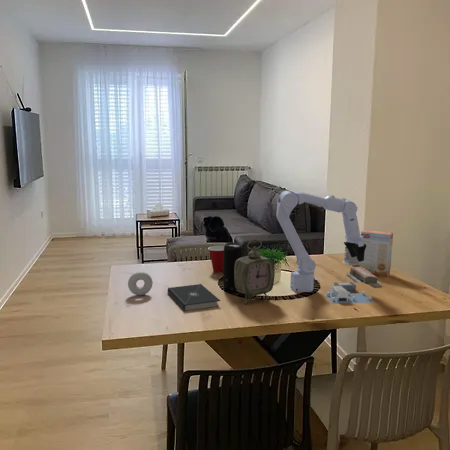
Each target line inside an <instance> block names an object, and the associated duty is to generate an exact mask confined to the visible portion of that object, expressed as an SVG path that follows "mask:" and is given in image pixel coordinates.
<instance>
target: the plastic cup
mask: <svg viewBox="0 0 450 450" xmlns="http://www.w3.org/2000/svg"><path fill="white" fill-rule="evenodd" d="M224 246H225V245H214V246H209V247H208V248H207V250H208V251H209V255H210V260H211V261H210V262H211V265H212V271H213V272H215V273H223V254H224Z"/></svg>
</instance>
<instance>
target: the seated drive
mask: <svg viewBox="0 0 450 450" xmlns="http://www.w3.org/2000/svg"><path fill="white" fill-rule="evenodd" d="M349 292H350V291H347V290H346V289H344V288H343V287H342V286H334V285H330V296H331V297H335V301H336V302H348V294H349Z"/></svg>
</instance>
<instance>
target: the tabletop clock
mask: <svg viewBox="0 0 450 450" xmlns="http://www.w3.org/2000/svg"><path fill="white" fill-rule="evenodd" d="M253 242H259V243H260V244H259V246H258V247H257V246H255V245H254V246H253V248H251V247H249V245H250V244H251V243H253ZM262 245H263V243H262V241H261V240H260V239H257V238H256V239H255V238H254V239H251V240H250V241H248V243H247V245H246V246H247V249H248V250H250V251H249V252H248V254H247V255H246V256H243V257H241V258H239V259H237V260H236V262H235V268H234V282H235V287H236V290H238V292H240V293H242V294H244V295H245V296H244V300H243V304H245V305H246V304H248V300H247V299H252V296H260V295H264V299H265V300H269V299H270V296H269V295H267V293H270V292H271V291H272V290H273V287H274V285H275V284H274V283H275V263H274V259H271V258H268V257H265V256H262V255H261V252H260V251H258V250H259V249H260V248H262Z"/></svg>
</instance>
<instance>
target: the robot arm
mask: <svg viewBox="0 0 450 450" xmlns="http://www.w3.org/2000/svg"><path fill="white" fill-rule="evenodd" d="M304 203H308V204H311V205H318V206H322V207H323V209H324V210H327V211H331V212H335V213H341V214H342V221H343V226H344V231H345V236H344V238H345V241H344V242H343V244H344V245H345V247H347V249H348V251H349V253H350V255H351V257H352V258H353V257H356V256H357V259H358V261H359V262H361V261H364V253H365V249H366V244H363V241H362V238H364V237H363V236H361V232H360V227H359V221H358V216H357V211H358V206H357V204H356V203H355V202H353V201H352V200H350V199H347V198H344V197H342V198H339V197H335V195H332V194H330V195H327V196H326V197H321V196H318V195H314V194H310V193H305V192H301V191H294V190H293V191H291V190H282V191H281V193H280V194H279V196H278V198H277V204H276V205H277V206H276V214H275V216H276V217H275V218H276V219H277V221H278V222H279V225H280V227H281V229H282V231H283V233H284V235H285V237H286V239H287V241H288V243H289V244H290V247H291V249H292V251H293V252H294V255H295V257H296V264H297V266H298V267H297V269H296V270H295V271H292V272H291V273H290V283H289V284H290V285H289V288H290V289H291V290H292V292H294V293H300V292H302V293H309V292H311V293H312V292H313V291H314V281H315V270H316V268H317V267H316V263H315V260H313V259H312V258H311V256H310V255H309V253H308V251H307V250H306V248H305V246H304V245H303V242H302V240H301V239H300V236H299V235H298V233H297V232H298V231H296V228H295V226H294V225H293V222H292V220H291V218H290V216H291V214H292V211H293V210H294V209H295V207H296V206H297V205H301V204H304Z"/></svg>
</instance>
